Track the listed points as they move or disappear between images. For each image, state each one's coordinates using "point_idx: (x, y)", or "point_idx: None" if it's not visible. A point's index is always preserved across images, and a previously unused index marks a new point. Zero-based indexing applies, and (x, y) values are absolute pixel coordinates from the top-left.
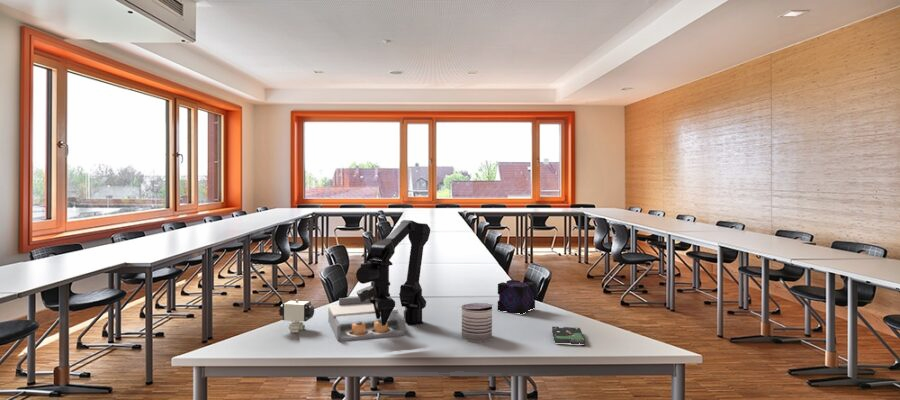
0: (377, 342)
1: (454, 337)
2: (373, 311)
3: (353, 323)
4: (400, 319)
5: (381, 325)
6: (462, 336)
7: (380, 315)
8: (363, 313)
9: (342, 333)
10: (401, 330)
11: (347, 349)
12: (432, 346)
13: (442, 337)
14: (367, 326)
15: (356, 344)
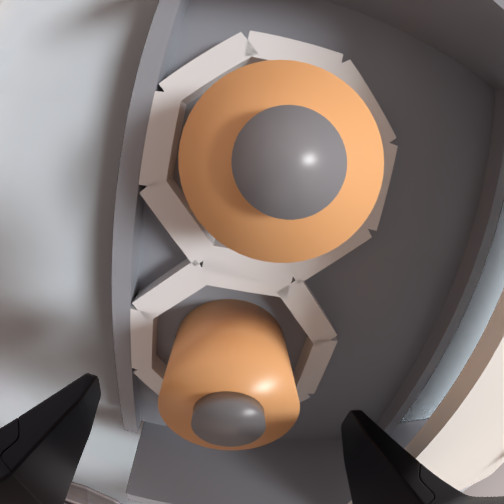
0: (88, 250)
1: (99, 485)
2: (436, 434)
3: (351, 106)
4: (190, 495)
5: (163, 383)
6: (81, 490)
7: (28, 438)
8: (489, 338)
9: (390, 62)
10: (169, 438)
11: (58, 21)
12: (13, 408)
13: (104, 474)
14: (433, 312)
15: (111, 88)
